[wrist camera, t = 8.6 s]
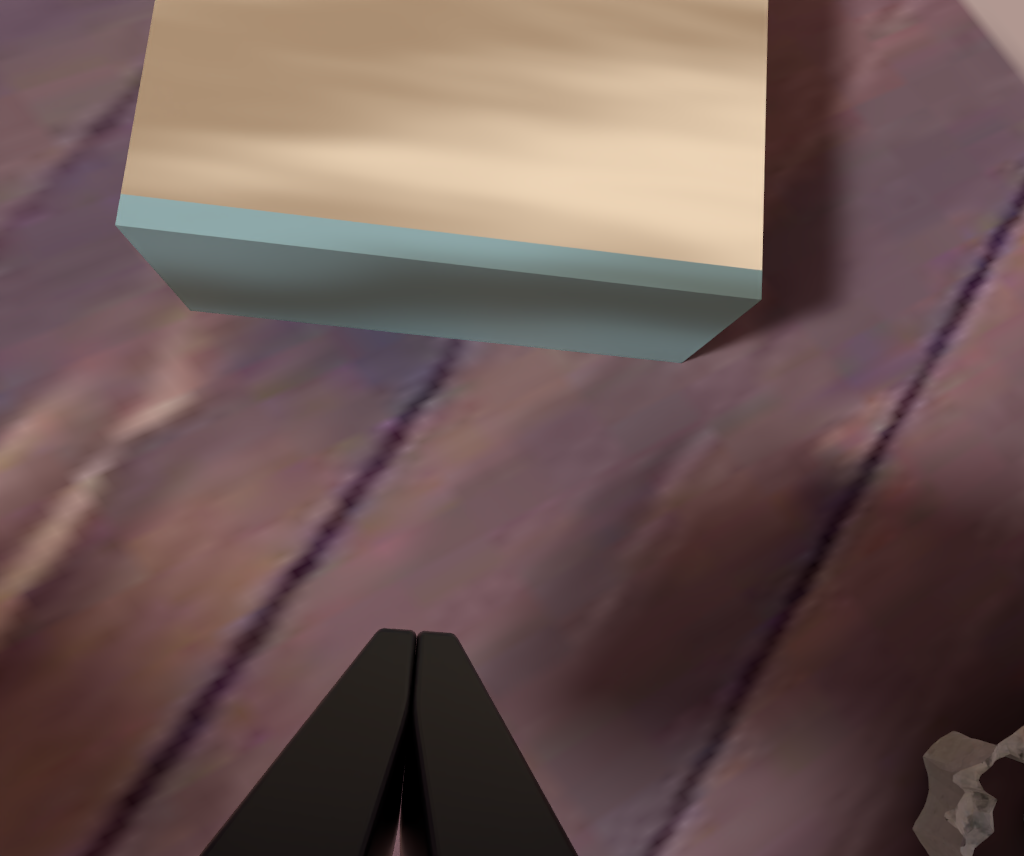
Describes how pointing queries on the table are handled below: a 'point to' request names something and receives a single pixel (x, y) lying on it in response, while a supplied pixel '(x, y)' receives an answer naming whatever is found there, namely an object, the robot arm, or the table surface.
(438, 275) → the birch block
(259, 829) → the robot arm
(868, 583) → the table surface
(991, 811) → the egg carton
